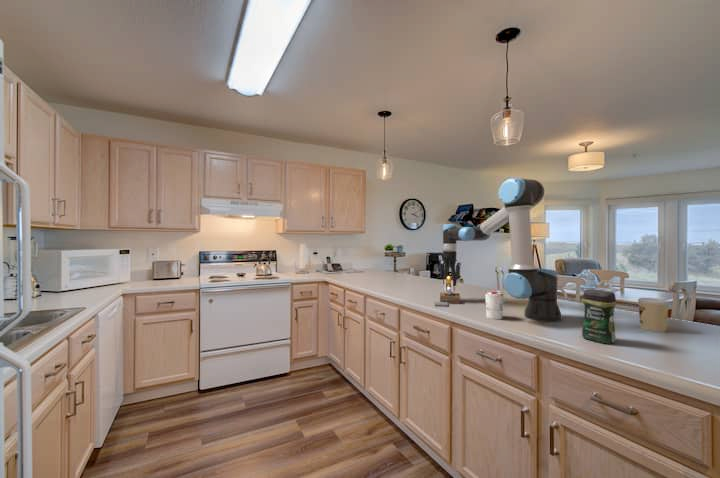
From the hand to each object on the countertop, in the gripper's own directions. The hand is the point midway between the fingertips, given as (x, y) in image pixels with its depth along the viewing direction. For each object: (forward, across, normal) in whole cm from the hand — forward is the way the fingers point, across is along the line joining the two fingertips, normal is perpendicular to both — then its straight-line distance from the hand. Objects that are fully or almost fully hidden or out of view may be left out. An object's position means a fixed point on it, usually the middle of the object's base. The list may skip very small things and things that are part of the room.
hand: (449, 290), depth 184 cm
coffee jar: (+6, +74, -18) cm, 76 cm away
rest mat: (+6, +2, -11) cm, 13 cm away
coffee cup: (+6, +86, +14) cm, 87 cm away
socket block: (+6, 0, 0) cm, 6 cm away
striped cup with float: (+7, +33, -16) cm, 37 cm away
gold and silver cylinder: (+6, 0, 0) cm, 6 cm away
